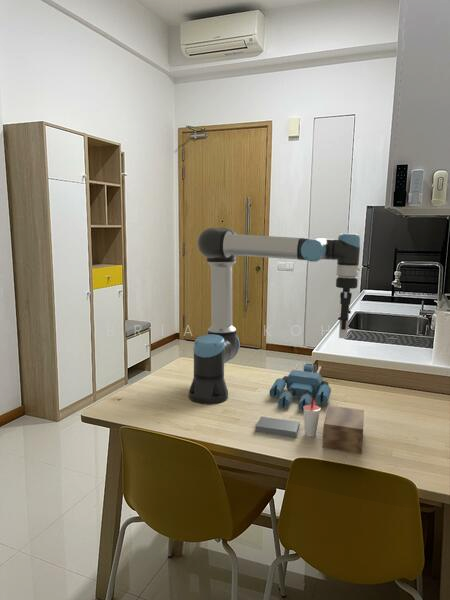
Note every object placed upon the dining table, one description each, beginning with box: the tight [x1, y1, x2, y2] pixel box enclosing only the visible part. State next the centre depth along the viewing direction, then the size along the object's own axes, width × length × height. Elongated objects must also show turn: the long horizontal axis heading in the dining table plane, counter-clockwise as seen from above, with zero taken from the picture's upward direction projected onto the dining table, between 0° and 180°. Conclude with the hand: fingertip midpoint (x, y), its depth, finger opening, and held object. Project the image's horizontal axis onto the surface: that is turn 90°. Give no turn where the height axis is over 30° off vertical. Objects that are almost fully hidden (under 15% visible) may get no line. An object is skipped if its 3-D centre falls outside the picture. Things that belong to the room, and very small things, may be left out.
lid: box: [254, 416, 301, 439], centre depth 146 cm, size 13×8×2 cm, turn 73°
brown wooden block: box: [322, 405, 365, 455], centre depth 140 cm, size 11×15×8 cm
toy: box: [268, 363, 332, 412], centre depth 177 cm, size 22×9×30 cm
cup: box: [303, 398, 321, 438], centre depth 142 cm, size 5×5×12 cm
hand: (343, 334), depth 166 cm, fingers open, 13 cm apart
